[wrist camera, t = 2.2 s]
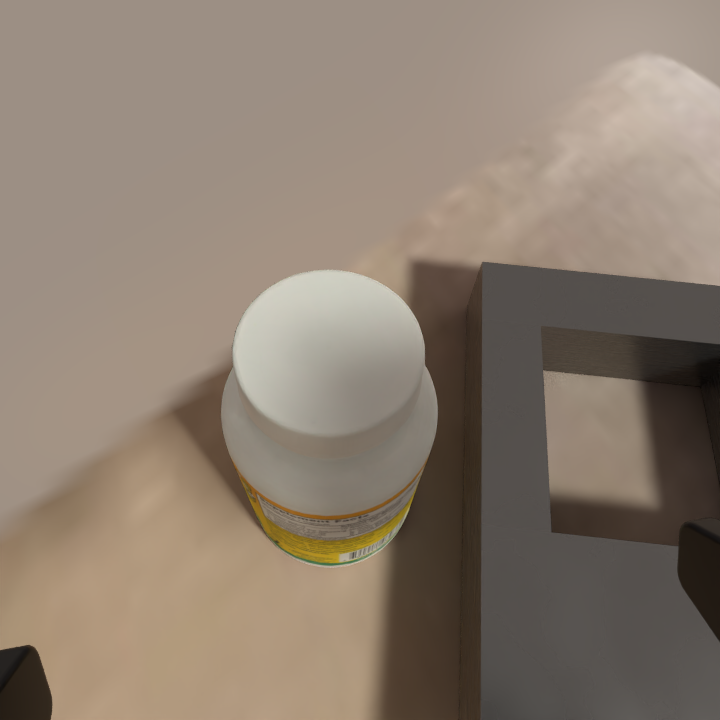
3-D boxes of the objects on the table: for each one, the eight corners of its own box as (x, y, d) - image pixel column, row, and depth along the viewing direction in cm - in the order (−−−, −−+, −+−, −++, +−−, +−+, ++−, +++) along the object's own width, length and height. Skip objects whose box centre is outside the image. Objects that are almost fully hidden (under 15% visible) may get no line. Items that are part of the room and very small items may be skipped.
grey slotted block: (910, 1042, 15) (1035, 1117, 12) (454, 984, 15) (479, 1047, 12) (740, 336, 24) (789, 293, 22) (466, 308, 25) (482, 261, 22)
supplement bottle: (389, 590, 19) (431, 507, 11) (229, 545, 20) (150, 433, 11) (423, 436, 22) (478, 274, 13) (281, 400, 22) (248, 222, 14)
